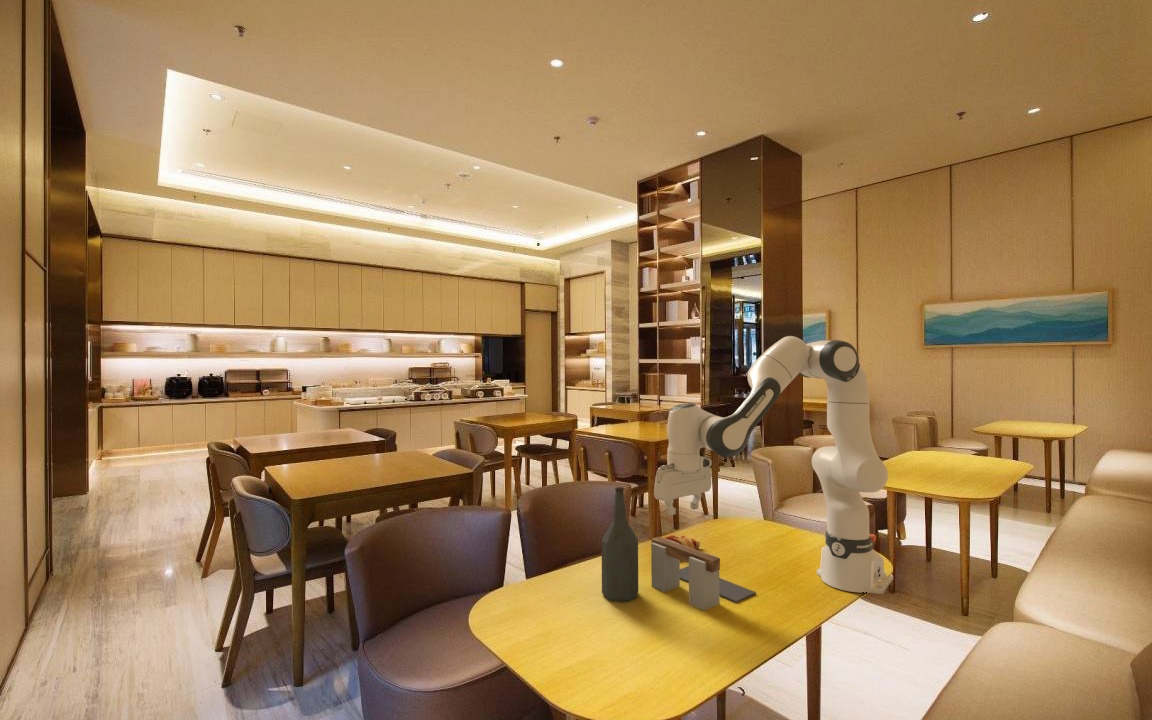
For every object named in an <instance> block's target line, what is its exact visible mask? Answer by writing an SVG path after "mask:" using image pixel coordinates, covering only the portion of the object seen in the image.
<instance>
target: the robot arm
mask: <svg viewBox="0 0 1152 720" xmlns="http://www.w3.org/2000/svg"><path fill="white" fill-rule="evenodd" d="M798 375H799V376H800V377H804V378H808V379H810V378H813V379H819V380H823V379H824V381H825V383H826V385H827V394H826V396H827V397H826V398H827V399H826V400H827V401H826V412H827V413H826V427H827V431H829V432H830V434H831V436H832V438H833V440H834V444H835V445H827V446H822V447H819V448H818V449H816V450H815V452H814V453H813V454H812V457H811V466H812V467H811V468H813V469H812V470H813V471H814V472H815V473H816V475H817V477H818V480H819V482H820V485H821V489H822V493H823V496H824V497H823V498H824V499H825V500H824V501H825V506H826V507H825V508H826V531H825V535H824V539H825V543H824V544H825V545H824V546H823V547H821V552H820V553H821V556H820V567H819V568H817V569H816V574H817V575H818V576H819V577H821V579H820V580H822V581H823V583H825V584H826V585H828V586H829V587H832V588H835V589H838V590H841V591H846V592H850V593H861V594H863V593H862V592H864V593H866V592H867V593H870V594H879V595H882V594H884V593H885V592H886V590H887V589H888V587H889V585H891V583H892V581H893V580H894V576H893V574H891V573H890V574H891V575H890V576H889V577H887V576H886V575H887V573H886V572H887V571H886V570H885V561H884V558H883V557H882V555H880V554H879V552H877V551H876V550H875V549H874V545H873V543H874V542H876V540H877V536H876V534H873V533H872V534H871V533H870V511H869V507H868V505H867V504H866V503H865V501H864V499H863V498H862V495H861V493H871V494H873V493H877V492H880V491H881V490H883V488H885V486H886V485H887V482H888V479H889V472H888V469H887V466H886V465H885V463H884V462H883V461H882V460H881V458H880V457H879V455H878V453H877V450H876V448H875V445H874V442H873V441H874V440H873V437H872V432H871V425H870V424H871V423H870V389H869V382H868V377H867V373H866V370H864V368H862V367H861V365H860V358H859V354H858V351H857V350H856V348H855V347H854V345H853V344H852V343H849V342H847V341H844V340H840V339H839V340H838V339H833V340H825V339H823V340H817V341H812V342H805V341H804V340H803V339H801V338H799V337H797V336H792V335H787V336H784V337H782V338H781V339H779V340H778V341H776V342H775V343H773V344H772V345H771V346H769V348H767V349H766V350H765V351H764V352H763V353H762V354H760V356H759V357H758V358H757V359H756V360H755V361H754V362H753V364H752V365H751V366H750V367H749V369H748V371H747V382H748V385H749V387H750V388H751V391H750V393H749V395H748V396H747V397H746V399H744V400H743V402H742V403H741V405H740V406H739V407H738V408H737V409H736V410H735V412H733V413H732V414H731V415H728V416H725V417H724V416H723V417H722V416H721V415H720V416H719V415H716V414H713V413H711V412H708V411H706V410H704V409H702V408H700V407H699V406H698V405H697V404H696V403H691V402H690V403H680V404H677V405H674V406H673V407H671V408H670V409H669V411H668V418H667V429H666V430H667V439H668V440H667V441H668V447H667V456H666V457H667V458H666V459H667V464H663V465H660V467H658V469H657V470H656V475H655V478H654V488H653V496H654V498H655V499H656V500H659V501H662V502H664V504H665V506H666V508H667V514H668V515H669V516H674V515H677V512H676V511H677V508H675V507H674V506H673V505H674V500H676V499H680V498H684V497H685V498H686V497H688V496H693V498H692V501H691V502H690V503H689V504H690V509H691V510H698V509H699V507H700V506H699V503H700V502H701V500H702V493H707V492H710V490H711V489H712V484H713V483H712V480H713V479H712V469H711V468H710V467H712V464H713V463H712V459H711V458H707V457H705V456H702V455H700V450H701V449H702V448H703V449H704V448H706V449H707V450H710V451H712V452H714V453H715V454H717V455H718V456H720V457H723V458H733V457H735V456H738V455H739V454H740V453H742V451H744V449H745V448H746V445H747V444H748V441H749V439H750V436H751V435H752V432H753V430H754V429H755V428H756V427H757V425H758V424H759V423H760V422H761V420H762V419H763V418H764V417H765V415H766V414H767V413H768V412H769V411H770V410H771V408H772V406H773V405H774V404H775V403H776V402H777V400H778V399H779V397H780V396H781V393H782V392H783V391H784V390H785V389H786V387H788V385H790V384H791V382H792V381H794V379H795V378H796V377H797V376H798ZM884 572H885V573H884ZM885 578H886V580H885V581H883V580H884V579H885ZM879 580H881V581H879ZM880 582H882V583H881V584H879V583H880ZM874 584H875V585H874ZM877 584H879V585H878V586H876V585H877ZM874 586H876V587H875V588H873V587H874ZM872 588H873V589H872ZM869 590H870V591H869Z"/></svg>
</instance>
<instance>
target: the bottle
mask: <svg viewBox="0 0 1152 720" xmlns="http://www.w3.org/2000/svg"><path fill="white" fill-rule="evenodd" d="M624 489H625V488H624V486H616V487H615V488H614V490H615V496H614V506H613V507H614V508H613V519H612V521H611V523H610V525H609V527H608V528H607V530H606V532H605V534H604V535H603V537H602V539H601V593H602V595H603V597H605V598H606V599H607V600H608V601H610V600H611V602H615V601H616V602H618V603H628V602H631V601H632V600H635V599H636V598H637V597H638V594H639V539H638V537H637V534H635V531H634V530H633V528H632V527H631V525H630V523H629V522H628V521H627V514H626V513H627V512H626V505H625V503H626V502H625V497H624V496H625V495H624Z"/></svg>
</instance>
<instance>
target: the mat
mask: <svg viewBox="0 0 1152 720" xmlns="http://www.w3.org/2000/svg"><path fill="white" fill-rule="evenodd" d="M680 581H682V582H685V583H688V584H689V565H688V566H684V567H682V568H680ZM756 595H757V592H756V591H753V590H751V589H749V588H747V587H744V586H741V585H738V584H737V583H736V584H735V583H734V582H732V581H729V580H726V579H723V578H721V577H719V598H723V599H725V600H728V601H730V602H732V603H734V604H738V603H740V602H743V601H744V600H747V599H749V598H751V597H753V596H756Z"/></svg>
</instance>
